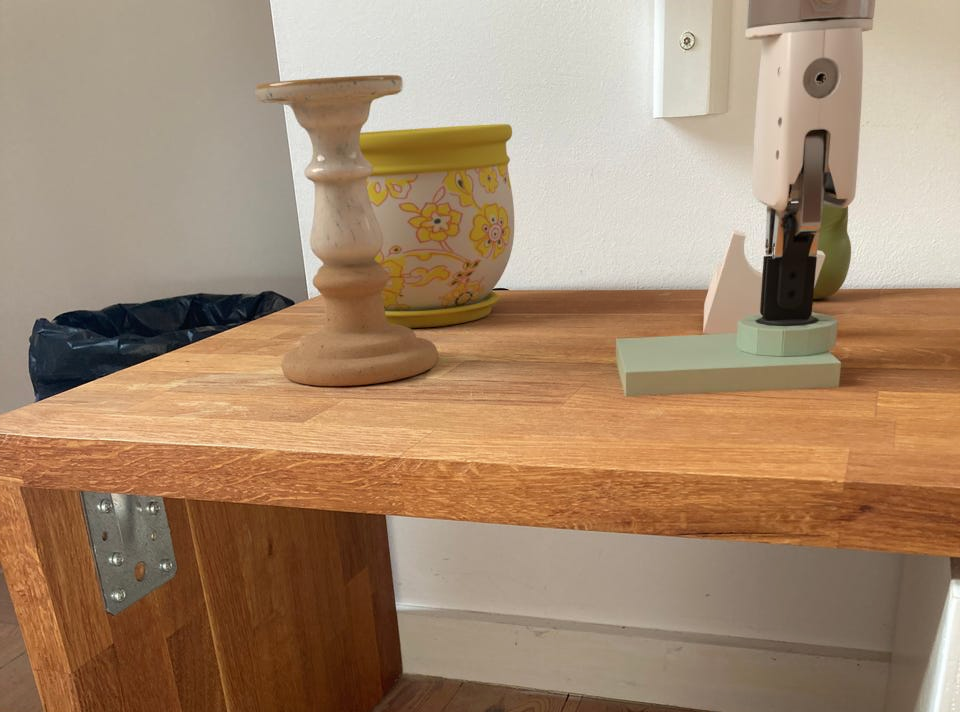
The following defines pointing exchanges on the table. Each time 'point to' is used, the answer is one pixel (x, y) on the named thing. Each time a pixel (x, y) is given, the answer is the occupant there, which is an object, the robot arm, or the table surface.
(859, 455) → the table surface
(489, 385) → the table surface
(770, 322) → the button
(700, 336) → the green base plate
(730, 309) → the bracket
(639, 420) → the table surface
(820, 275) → the olive green rounded piece
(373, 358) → the candle holder
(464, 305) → the flowerpot
